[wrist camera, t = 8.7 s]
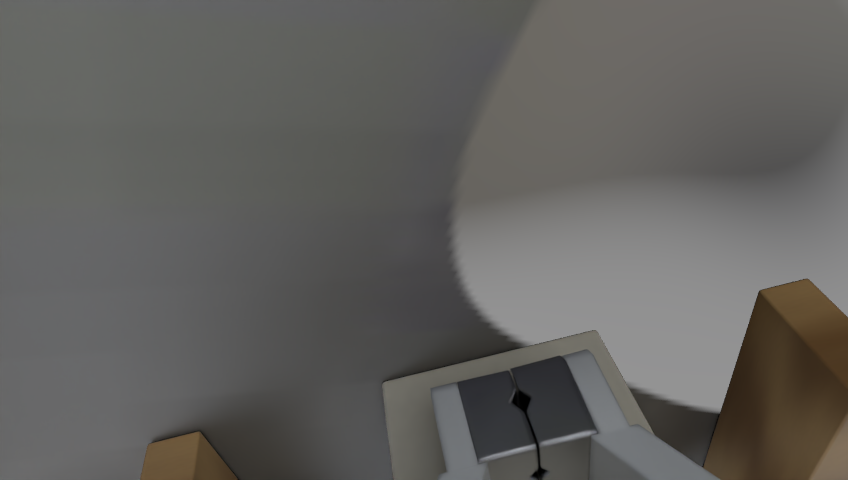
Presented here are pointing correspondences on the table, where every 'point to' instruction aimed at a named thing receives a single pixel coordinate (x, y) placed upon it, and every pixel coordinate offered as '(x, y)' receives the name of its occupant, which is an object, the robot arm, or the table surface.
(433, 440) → the white rectangular box
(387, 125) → the table surface
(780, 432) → the wooden dock
